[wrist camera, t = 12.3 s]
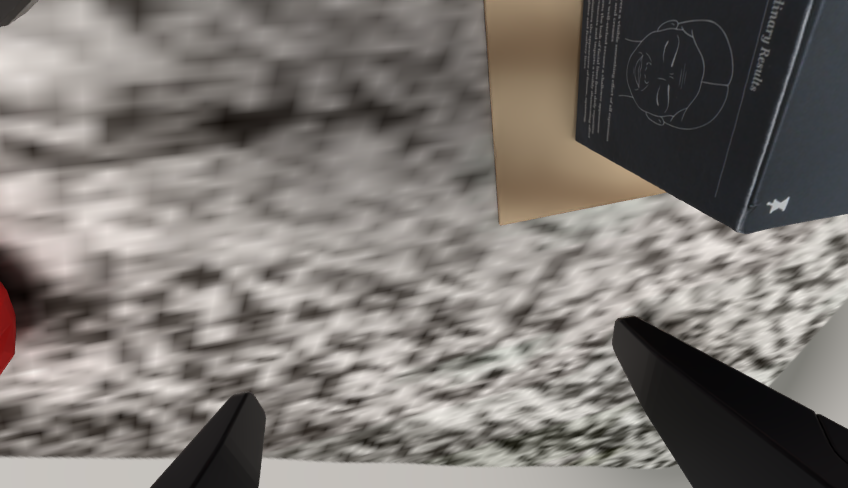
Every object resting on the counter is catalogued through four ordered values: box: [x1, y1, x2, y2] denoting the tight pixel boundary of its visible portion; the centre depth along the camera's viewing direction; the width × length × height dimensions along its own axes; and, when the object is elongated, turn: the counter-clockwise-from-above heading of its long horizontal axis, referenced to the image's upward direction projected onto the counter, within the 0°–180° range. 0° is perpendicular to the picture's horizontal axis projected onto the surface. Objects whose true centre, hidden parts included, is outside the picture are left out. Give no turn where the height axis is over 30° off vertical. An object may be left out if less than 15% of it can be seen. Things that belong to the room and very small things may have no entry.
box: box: [575, 0, 848, 234], centre depth 13 cm, size 8×6×11 cm
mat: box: [484, 0, 667, 226], centre depth 18 cm, size 16×12×1 cm
